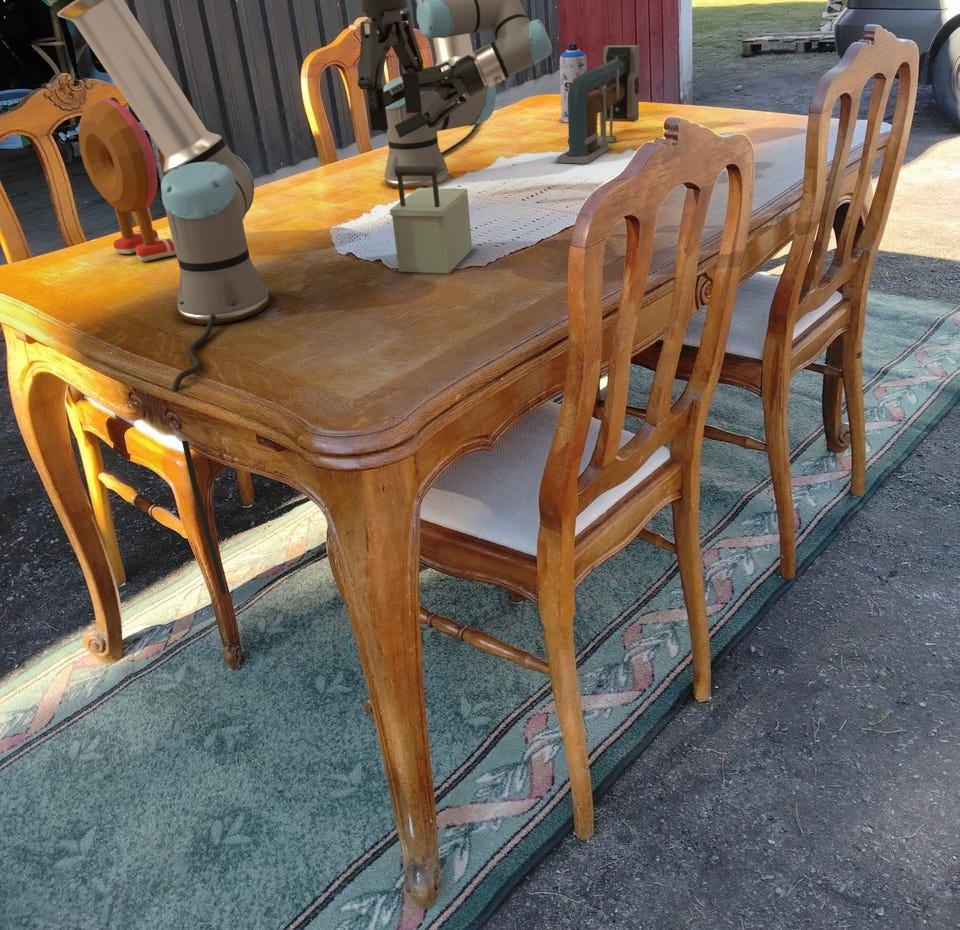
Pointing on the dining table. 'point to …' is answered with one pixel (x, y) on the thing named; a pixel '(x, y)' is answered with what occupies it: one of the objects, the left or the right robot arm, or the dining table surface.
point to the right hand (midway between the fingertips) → (387, 118)
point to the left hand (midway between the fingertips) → (397, 121)
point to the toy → (123, 173)
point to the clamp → (602, 103)
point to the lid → (425, 194)
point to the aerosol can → (570, 74)
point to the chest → (433, 240)
